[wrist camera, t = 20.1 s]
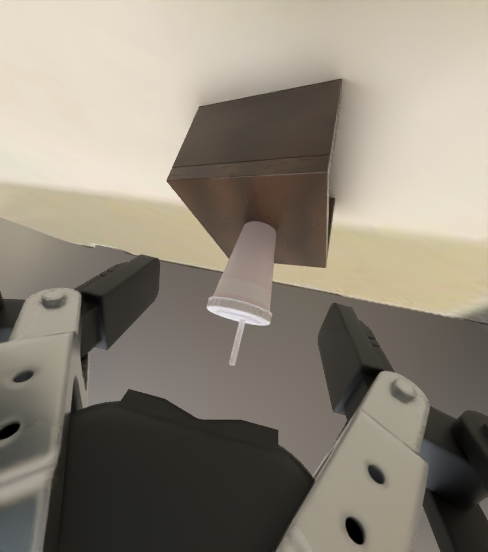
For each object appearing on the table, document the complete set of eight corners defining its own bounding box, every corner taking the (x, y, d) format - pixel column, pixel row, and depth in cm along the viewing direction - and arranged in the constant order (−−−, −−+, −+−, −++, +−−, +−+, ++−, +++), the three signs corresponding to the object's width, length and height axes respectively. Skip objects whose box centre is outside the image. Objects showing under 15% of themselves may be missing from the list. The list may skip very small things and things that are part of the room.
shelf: (342, 78, 19) (327, 171, 16) (334, 205, 33) (325, 268, 30) (198, 106, 24) (165, 180, 21) (244, 205, 38) (229, 259, 35)
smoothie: (274, 251, 29) (248, 367, 24) (226, 233, 27) (189, 352, 23) (299, 228, 23) (271, 377, 18) (239, 204, 21) (193, 357, 17)
